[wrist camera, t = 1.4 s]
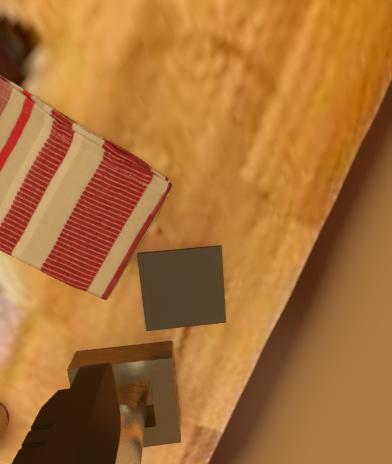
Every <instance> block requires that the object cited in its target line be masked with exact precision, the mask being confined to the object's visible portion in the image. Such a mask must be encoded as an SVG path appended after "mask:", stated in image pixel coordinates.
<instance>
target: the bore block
mask: <svg viewBox="0 0 392 464" xmlns="http://www.w3.org/2000/svg"><path fill="white" fill-rule="evenodd" d="M107 362H110V363H111V365H112V368H113V373H114V379H115V384H116V385H124V384H133V383H141V382H150V381H151V389H152V397H153V405H151V406H147V411H146V420H145V430H144V439H143V447H149V446H156V445H164V444H172V443H180V442H181V430H180V413H179V403H178V394H177V384H176V374H175V364H174V355H173V345H172V341H167V342H158V343H149V344H140V345H131V346H122V347H112V348H103V349H94V350H85V351H77V352H76V354H75V356H74V358H73V359H72V361H71V363H70V365H69V367H68V369H67V371H68V376H69V381H70V387H71V385H72V382H73V380H74V378H75V376H76V373H77V371H78V369H79V368H80V367H81V366H85V365H93V364H100V363H107Z"/></svg>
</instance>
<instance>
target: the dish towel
mask: <svg viewBox="0 0 392 464" xmlns="http://www.w3.org/2000/svg"><path fill="white" fill-rule="evenodd" d="M172 184H173V183H171V180H170V179H169V178H167V177H165V176H164V175H162V174H160V173H159V172H157V171H156V170H154V169H153V168H152V167H150V166H149V165H148V164H147V163H145V162H144V161H143V160H141V159H139V158H138V157H136V156H135V155H133V154H131V153H129V152H128V151H126V150H124V149H122V148H121V147H119V146H117V145H115V144H114V143H112V142H111V141H109V140H107V139H105V138H103V137H101V136H99V135H97V134H95V133H93V132H91V131H90V130H88V129H86V128H85V127H83V126H81V125H80V124H78V123H77V122H75V121H73V120H71V119H70V118H68V117H67V116H65V115H64V114H62V113H61V112H59V111H57V110H55V109H54V108H52V107H51V106H49V105H47V104H46V103H44V102H42V101H41V100H40V99H38V98H36V97H35V96H33V95H31V94H30V93H28V92H27V91H25V90H24V89H22V88H21V87H19V86H18V85H16V84H14V83H13V82H11V81H9V80H8V79H6V78H5V77H3V76H1V75H0V250H1V251H3V252H5V253H7V254H9V255H11V256H13V257H15V258H17V259H18V260H20V261H22V262H24V263H26V264H28V265H31V266H33V267H35V268H37V269H39V270H40V271H42V272H44V273H46V274H47V275H49V276H52V277H54V278H55V279H58V280H60V281H62V282H64V283H66V284H68V285H70V286H72V287H75V288H78V289H80V290H83V291H86V292H89V293H91V294H93V295H96V296H98V297H100V298H102V299H104V300H107V299H108V298H109V295H110V293H111V292H112V290H113V289H114V287H115V286H116V284H117V282H118V280H119V278H120V277H121V275H122V273H123V271H124V270H125V268H126V267H127V265H128V263H129V261H130V260H131V258H132V256H133V255H134V253H135V251H136V249H137V248H138V246H139V245H140V243H141V241H142V239H143V238H144V236H145V235H146V233H147V232H148V230H149V228H150V226H151V225H152V223H153V221H154V219H155V218H156V216H157V215H158V213H159V211H160V209H161V207H162V206H163V204H164V203H165V201H166V199H167V198H168V196H169V194H170V192H171V190H172V188H173V187H172Z"/></svg>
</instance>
